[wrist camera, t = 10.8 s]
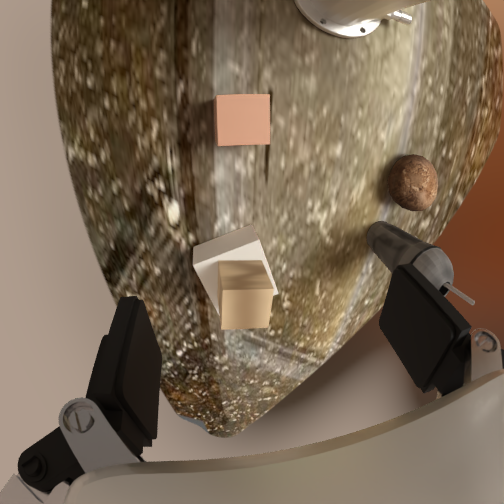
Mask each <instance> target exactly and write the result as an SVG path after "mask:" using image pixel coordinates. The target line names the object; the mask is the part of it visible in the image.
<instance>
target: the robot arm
mask: <svg viewBox="0 0 504 504" xmlns="http://www.w3.org/2000/svg"><path fill="white" fill-rule="evenodd" d="M427 1H431V0H294V2H295V4H296V6H297V7H298V9H299V10H300V12H301V13H302V14H303V15H304V16H305V17H306V18H307V19H308V20H309V21H310V22H311V23H312V24H314V25H315V26H316V27H318V28H320V29H321V30H323V31H325V32H327V33H329V34H332V35H335V36H338V37H343V38H359V37H362V36H365V35H368V34H370V33H372V32H373V31H374V30H376V28H377V27H378V26H379V24H380V22H381V20H382V19H387V20H390V19H394V20H396V21H398V22H401V23H403V24H406V25H409V24H410V23H411V21H412V17H411V15H410V14H409V13H406V12H404V11H401V9H404V8H407V7H411V6H414V5H417V4H420V3H424V2H427ZM320 22H321V23H322V24H321V23H320ZM379 326H380V329H381V330H382V332H383V333H384V335H385V336H386V338H387V339H388V341H389V342H390V344H391V345H392V347H393V349H394V350H395V352H396V353H397V355H398V356H399V358H400V360H401V361H402V363H403V365H404V366H405V368H406V369H407V371H408V373H409V374H410V376H411V378H412V379H413V381H414V383H415V384H416V386H417V387H418V388H421V390H422V392H423V393H426V392H429V391H431V390H433V389H434V388H435V386H436V387H437V389H438V392H437V398H436V400H435V401H433V402H431V403H429V404H427V405H424V406H422V407H420V408H418V409H415V410H414V411H411V412H408V413H406V414H404V415H401V416H399V417H396V418H394V419H391V420H388V421H386V422H383V423H380V424H377V425H375V426H372V427H369V428H366V429H363V430H360V431H357V432H354V433H350V434H347V435H344V436H340V437H337V438H333V439H329V440H326V441H322V442H318V443H313V444H309V445H305V446H301V447H296V448H291V449H286V450H280V451H275V452H270V453H263V454H256V455H248V456H241V457H231V458H220V459H208V460H191V461H161V462H146V461H145V459H144V458H143V457H142V456H141V454H142V453H143V446H144V447H152V439H156V438H157V424H158V405H159V391H160V377H161V366H162V354H161V350H160V348H159V345H158V342H157V340H156V337H155V334H154V331H153V328H152V325H151V322H150V319H149V316H148V313H147V310H146V307H145V304H144V301H143V300H139V299H138V297H137V296H129V297H121V298H120V300H119V303H118V306H117V309H116V312H115V315H114V318H113V321H112V324H111V327H110V331H109V334H108V335H104V336H103V338H102V340H101V344H100V347H99V350H98V353H97V357H96V360H95V363H94V367H93V371H92V374H91V378H90V382H89V386H88V390H87V394H86V398H75V399H73V400H71V401H69V402H68V403H66V404H65V405H64V407H63V408H62V410H61V412H60V414H59V425H60V426H59V427H58V428H56V429H55V430H54V431H52V432H51V433H49V434H48V435H46V436H45V437H44V438H42V439H41V440H39V441H38V442H36V443H35V444H33V445H32V446H31V447H29V448H28V449H26V450H25V451H24V452H23V453H22V454H21V456H20V458H19V461H18V471H19V473H18V475H15V474H13V475H12V477H11V478H10V480H9V481H8V482H7V484H6V485H5V486H4V488H3V489H2V491H1V492H0V504H504V350H503V349H501V348H500V343H499V340H498V339H497V337H496V336H495V335H494V334H493V333H492V332H490V331H488V330H486V329H476V330H474V331H473V333H472V334H471V335H470V334H469V331H470V329H471V326H470V325H469V323H468V322H467V321H466V320H465V319H464V317H463V316H462V315H461V314H460V313H459V312H458V311H457V310H456V309H455V308H454V306H453V305H452V304H451V303H450V302H449V301H448V300H447V299H446V298H445V297H444V296H443V295H442V294H441V292H440V291H439V290H438V289H437V288H436V287H435V286H434V285H433V284H432V283H431V282H430V281H429V280H428V279H427V278H426V277H425V276H424V275H423V274H422V273H421V272H420V271H419V270H418V269H417V268H416V267H415V266H414V265H413V264H411V263H408V264H402V265H398V266H397V267H396V269H395V270H394V271H393V274H392V277H391V281H390V285H389V289H388V292H387V296H386V299H385V303H384V306H383V310H382V313H381V316H380V319H379Z"/></svg>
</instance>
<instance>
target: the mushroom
mask: <svg viewBox="0 0 504 504" xmlns="http://www.w3.org/2000/svg"><path fill="white" fill-rule="evenodd" d="M388 188H389V192H390V194H391V196H392V198H393V200H394V201H395V202H396V203H397V204H398V205H400V206H401V207H402V208H405V209H407V210H410V211H423V210H424V209H426V208H427V207H429V206H430V205H431V204H432V203H433V201H434V199H435V198H436V195H437V189H438V180H437V173H436V171H435V169H434V167H433V165H432V163H431V162H429V161H428V160H427V159H426V158H424V157H423V156H418V155H414V154H413V155H408V156H403V157H402V158H401V159H400V160H398V161H397V162H396V163H395V165H394V166H393V168H392V170H391V172H390V175H389V178H388Z"/></svg>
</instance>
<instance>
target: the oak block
mask: <svg viewBox="0 0 504 504" xmlns="http://www.w3.org/2000/svg"><path fill="white" fill-rule="evenodd" d="M273 292H274V288H273V285H272V283H271V281H270V278H269V276H268V274H267V271H266V269H265V267H264V264H263V262H262V260H218V291H217V298H218V306H219V314H220V322H221V330H223V329H248V328H267V327H268V325H269V319H270V312H271V305H272V298H273Z"/></svg>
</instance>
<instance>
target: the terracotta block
mask: <svg viewBox="0 0 504 504" xmlns="http://www.w3.org/2000/svg"><path fill="white" fill-rule="evenodd" d="M214 124H215V142H216V144H217V145H218V146H230V145H254V144H270V94H235V95H216V97H215V98H214Z"/></svg>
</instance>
